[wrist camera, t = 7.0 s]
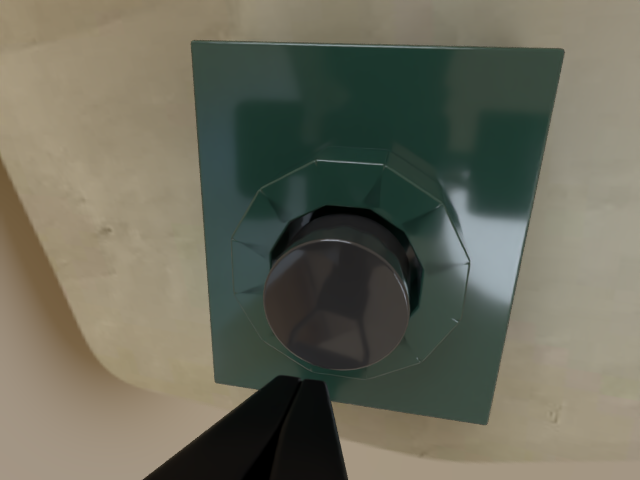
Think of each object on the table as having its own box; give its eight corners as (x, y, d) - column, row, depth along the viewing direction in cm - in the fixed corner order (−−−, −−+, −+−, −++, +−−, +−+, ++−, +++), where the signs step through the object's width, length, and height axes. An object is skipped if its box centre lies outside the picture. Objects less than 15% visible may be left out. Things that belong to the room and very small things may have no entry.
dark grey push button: (404, 335, 13) (402, 381, 11) (284, 320, 14) (263, 361, 12) (417, 218, 12) (418, 247, 10) (283, 206, 12) (260, 232, 11)
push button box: (474, 358, 19) (497, 474, 14) (248, 328, 21) (190, 421, 15) (529, 51, 15) (595, 45, 9) (239, 45, 17) (152, 35, 11)
